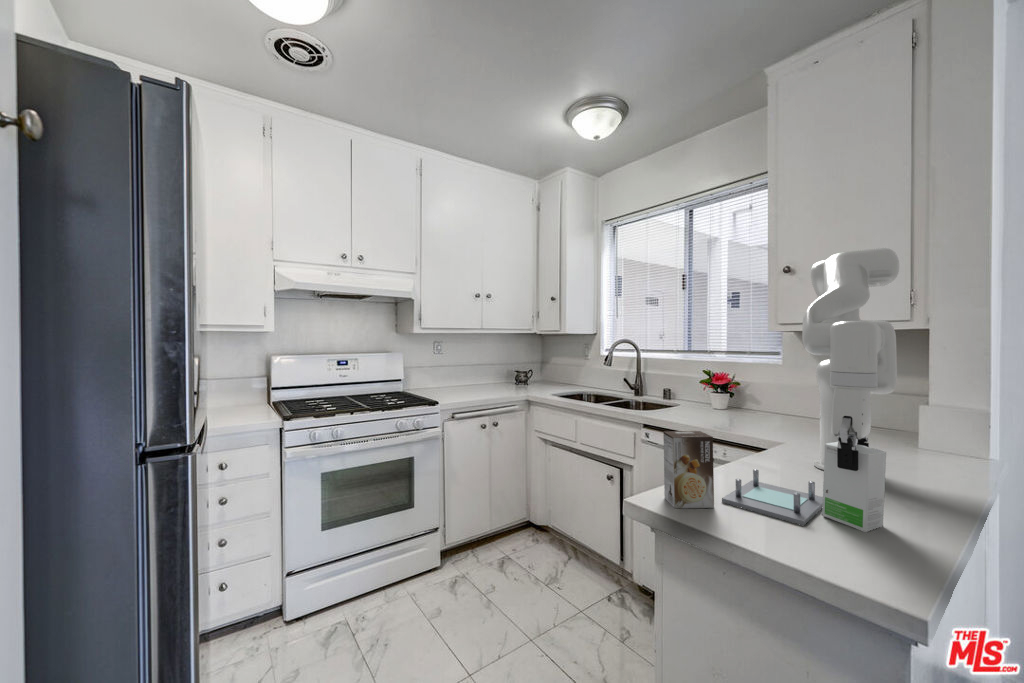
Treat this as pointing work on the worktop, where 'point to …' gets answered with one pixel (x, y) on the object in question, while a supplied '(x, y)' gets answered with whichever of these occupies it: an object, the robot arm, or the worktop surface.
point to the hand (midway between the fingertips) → (853, 464)
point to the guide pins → (796, 495)
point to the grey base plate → (775, 502)
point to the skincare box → (855, 488)
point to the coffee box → (688, 469)
